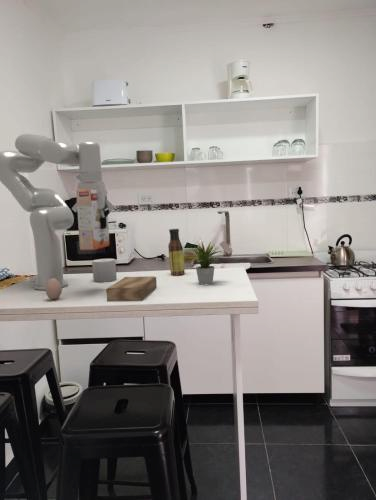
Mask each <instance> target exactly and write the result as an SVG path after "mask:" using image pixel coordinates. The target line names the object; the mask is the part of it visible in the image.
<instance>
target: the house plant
mask: <svg viewBox="0 0 376 500" xmlns="http://www.w3.org/2000/svg"><path fill="white" fill-rule="evenodd" d="M211 244H212V241H210V242H209V244H208V245H207V247H206V249H205V246H204V242H203V241H201V246H200V244H197V245H196V246H197V247H194V248H193V247H190V249H192V251H193V252H194V253H195V254H196V256H197V257H198V259H197V258H195V257H193V256H189V259H192V260H195V261H196V263H197V265H198V264H199V266H195V270H196V274H197V280H198V284H199V285H201V284H203V286H206V285H205V284H209V285H212V284H213V283H214V275H215V266H213V265H211V264H212V263H213V262H214V261H217V262H219V259H220V258H219V257H220V256H222V255H217V256H213V255H215V254H217V253H221V252H222V250H218V249H220V248H221V245H220V246H215V244H214V243H213V244H212V245H211ZM223 246H224V245H222V247H223ZM214 247H215V248H214ZM224 247H225V246H224ZM213 248H214V249H213ZM217 250H218V251H217Z"/></svg>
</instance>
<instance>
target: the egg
mask: <svg viewBox="0 0 376 500" xmlns="http://www.w3.org/2000/svg"><path fill="white" fill-rule="evenodd" d="M45 294H46V296H47V297H48V299H50V300H53V301H54V300H55V301H56V300H58V299H59V298H60V296H61V295H62V294H63V287H61V284H60V282H59V281H58V280H57V279H54V278H52V279H50V280H49V281H48V282H47V285H46V290H45Z"/></svg>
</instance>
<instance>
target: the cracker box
mask: <svg viewBox="0 0 376 500" xmlns="http://www.w3.org/2000/svg"><path fill="white" fill-rule="evenodd" d="M75 191H76V193H75V194H76V203H77V211H78V215H77V224H78V225H77V226H78V241H79V242H78V243H79V251H96V250H99V249H103V248H106V247H109V246H110V231H109V215H108V216H107V217H106V223H107V226H106V228H105V229H101V224H100V218H101V214H100V210H98V205H97V192H96V190H77V189H76V190H75ZM106 194H107V195H108V191H107V190H106ZM108 208H109V207H107V208H106V209H105V211H106V210H107V209H108Z"/></svg>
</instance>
